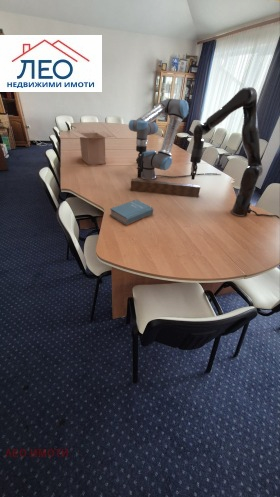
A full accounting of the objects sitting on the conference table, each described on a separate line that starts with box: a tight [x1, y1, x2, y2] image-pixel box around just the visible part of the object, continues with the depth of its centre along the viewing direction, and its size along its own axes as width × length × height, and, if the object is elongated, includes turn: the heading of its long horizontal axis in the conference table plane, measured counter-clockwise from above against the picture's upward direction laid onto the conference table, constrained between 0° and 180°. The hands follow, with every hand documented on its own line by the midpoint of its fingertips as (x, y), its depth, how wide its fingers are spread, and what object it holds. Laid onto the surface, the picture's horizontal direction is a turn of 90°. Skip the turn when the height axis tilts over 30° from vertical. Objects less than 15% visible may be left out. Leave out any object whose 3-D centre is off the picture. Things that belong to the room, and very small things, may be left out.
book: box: [109, 199, 154, 226], centre depth 142 cm, size 23×16×5 cm
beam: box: [130, 178, 201, 198], centre depth 176 cm, size 54×4×8 cm, turn 84°
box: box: [70, 129, 114, 166], centre depth 229 cm, size 44×36×27 cm
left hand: (140, 174), depth 173 cm, fingers open, 13 cm apart
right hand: (192, 177), depth 169 cm, fingers open, 8 cm apart
